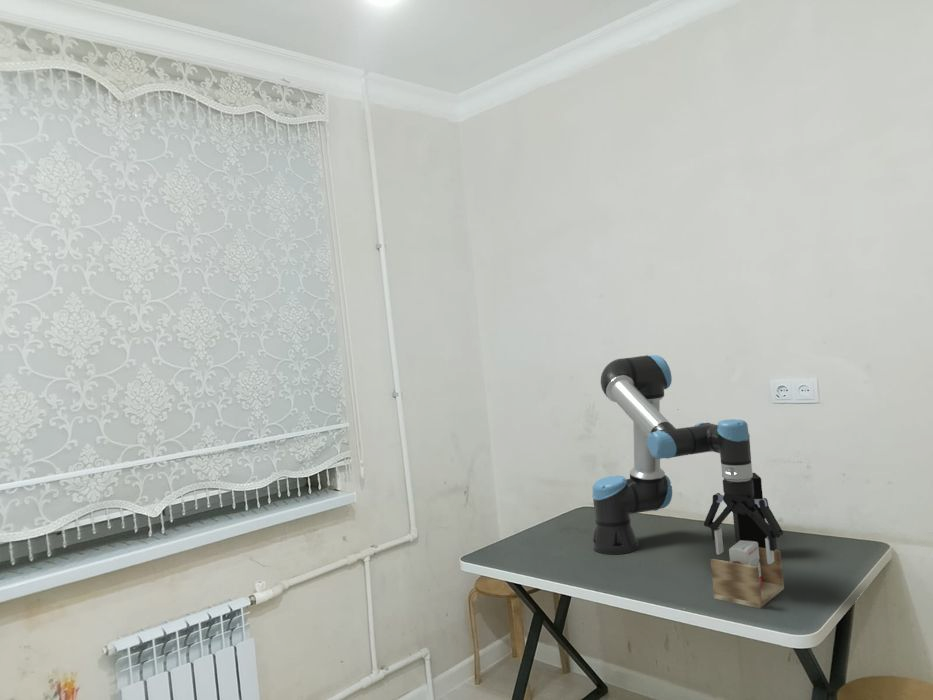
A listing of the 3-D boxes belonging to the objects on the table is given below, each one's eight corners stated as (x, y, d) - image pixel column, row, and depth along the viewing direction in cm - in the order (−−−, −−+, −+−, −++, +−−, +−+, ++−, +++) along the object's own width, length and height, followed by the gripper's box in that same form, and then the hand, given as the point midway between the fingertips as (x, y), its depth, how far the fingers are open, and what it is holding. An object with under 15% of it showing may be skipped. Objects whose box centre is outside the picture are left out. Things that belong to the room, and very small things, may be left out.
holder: (714, 598, 170) (710, 560, 170) (739, 579, 181) (736, 543, 181) (760, 608, 161) (756, 568, 161) (784, 588, 172) (780, 550, 172)
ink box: (744, 581, 176) (739, 538, 176) (763, 584, 173) (758, 541, 173) (732, 592, 170) (727, 548, 170) (751, 596, 166) (747, 550, 166)
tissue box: (769, 559, 194) (760, 467, 194) (741, 560, 195) (732, 468, 195) (763, 551, 201) (753, 462, 201) (736, 552, 203) (727, 463, 203)
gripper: (686, 477, 178) (693, 553, 178) (780, 486, 159) (788, 571, 160) (699, 471, 183) (706, 545, 183) (792, 479, 164) (799, 561, 165)
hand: (744, 557), depth 171 cm, fingers open, 13 cm apart
